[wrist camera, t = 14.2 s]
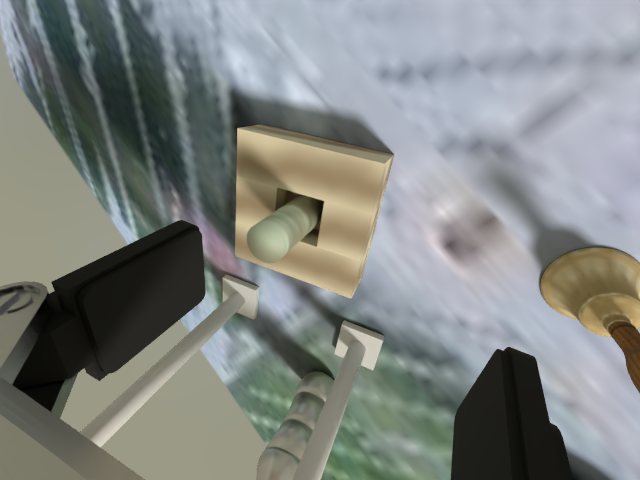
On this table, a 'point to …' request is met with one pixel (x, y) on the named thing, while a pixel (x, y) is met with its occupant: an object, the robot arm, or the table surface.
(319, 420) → the two-post wooden stand
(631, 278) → the hand bell
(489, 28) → the table surface
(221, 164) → the table surface
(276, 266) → the socket block
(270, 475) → the plastic bottle
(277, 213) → the peg
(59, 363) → the robot arm
